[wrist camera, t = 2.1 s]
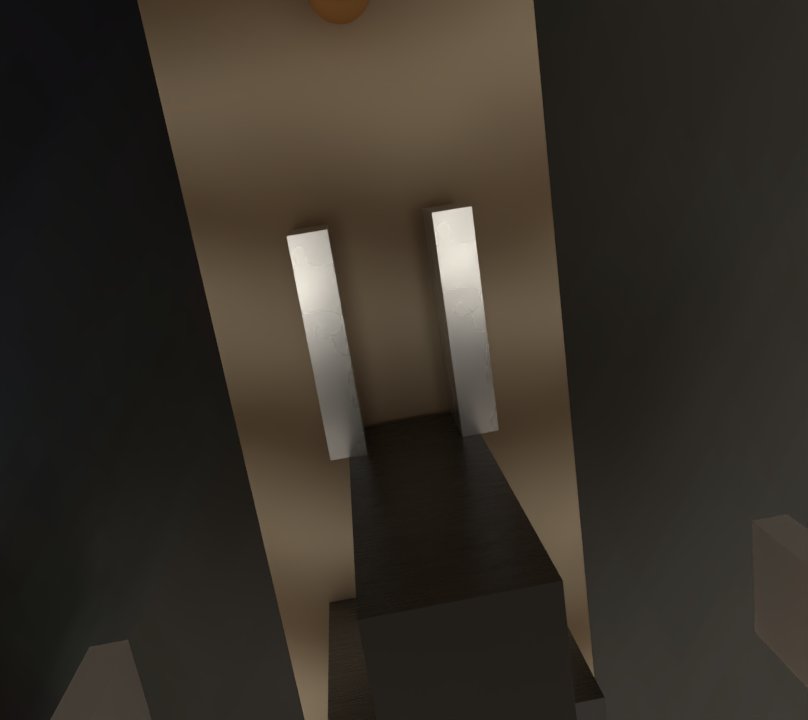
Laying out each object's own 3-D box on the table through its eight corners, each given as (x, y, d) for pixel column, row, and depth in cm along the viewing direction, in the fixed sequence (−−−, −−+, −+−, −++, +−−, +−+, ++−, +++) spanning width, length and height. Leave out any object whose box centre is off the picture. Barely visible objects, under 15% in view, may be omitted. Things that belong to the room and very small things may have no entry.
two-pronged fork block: (291, 229, 19) (253, 278, 10) (457, 202, 19) (560, 228, 10) (396, 772, 24) (431, 1113, 15) (526, 745, 24) (634, 1067, 15)
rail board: (142, -32, 18) (125, -49, 17) (509, -83, 19) (523, -104, 17) (320, 749, 25) (319, 783, 24) (584, 695, 26) (598, 726, 25)
